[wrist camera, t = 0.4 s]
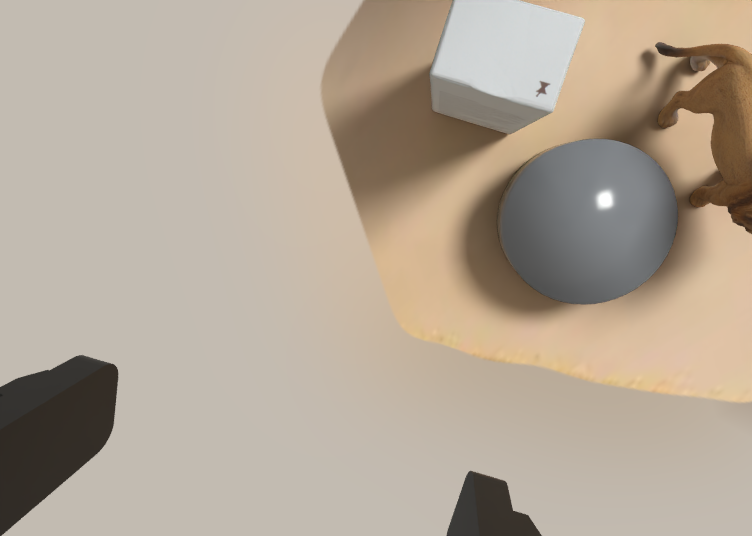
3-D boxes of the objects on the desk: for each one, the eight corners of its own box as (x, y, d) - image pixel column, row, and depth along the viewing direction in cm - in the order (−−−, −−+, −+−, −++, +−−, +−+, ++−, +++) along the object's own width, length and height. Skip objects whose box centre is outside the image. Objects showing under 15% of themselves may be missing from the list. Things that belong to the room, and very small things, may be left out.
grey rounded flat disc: (565, 109, 31) (579, 103, 28) (690, 203, 32) (716, 206, 29) (466, 235, 34) (469, 241, 31) (582, 320, 34) (596, 335, 31)
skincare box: (532, 74, 31) (592, 17, 20) (510, 135, 32) (554, 116, 21) (448, 49, 32) (457, -21, 20) (429, 111, 33) (427, 79, 21)
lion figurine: (789, 211, 31) (929, 227, 22) (713, 252, 32) (817, 282, 24) (689, 21, 29) (797, -41, 21) (612, 71, 31) (684, 33, 22)
